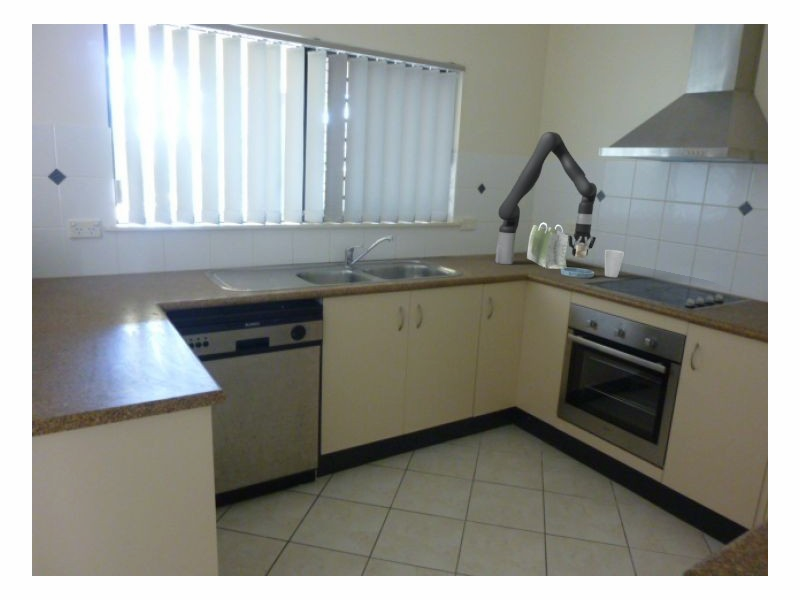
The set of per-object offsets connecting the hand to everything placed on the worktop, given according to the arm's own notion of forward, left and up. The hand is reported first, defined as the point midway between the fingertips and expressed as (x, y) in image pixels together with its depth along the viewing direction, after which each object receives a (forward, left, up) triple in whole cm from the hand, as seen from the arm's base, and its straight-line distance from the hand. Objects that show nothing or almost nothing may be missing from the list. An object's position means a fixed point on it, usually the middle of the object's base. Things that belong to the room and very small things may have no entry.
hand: (579, 255), depth 290 cm
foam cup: (+19, +3, -10) cm, 22 cm away
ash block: (0, 0, 0) cm, 0 cm away
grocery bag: (-7, +33, -10) cm, 35 cm away
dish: (0, 0, -10) cm, 10 cm away
